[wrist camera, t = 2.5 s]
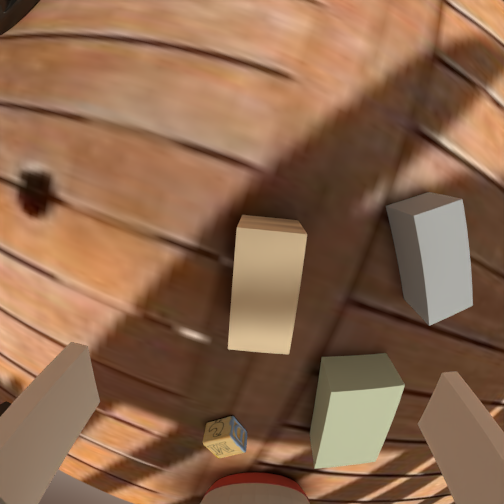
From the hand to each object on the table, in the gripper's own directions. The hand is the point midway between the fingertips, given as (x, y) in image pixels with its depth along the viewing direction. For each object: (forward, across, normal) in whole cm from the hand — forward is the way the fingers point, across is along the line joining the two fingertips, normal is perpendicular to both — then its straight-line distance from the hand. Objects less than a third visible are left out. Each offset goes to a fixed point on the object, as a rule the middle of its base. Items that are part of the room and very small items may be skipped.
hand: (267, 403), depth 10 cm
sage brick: (+14, +9, -12) cm, 21 cm away
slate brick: (+14, +12, +3) cm, 19 cm away
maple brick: (+14, 0, 0) cm, 14 cm away
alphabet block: (+14, -2, -17) cm, 22 cm away
